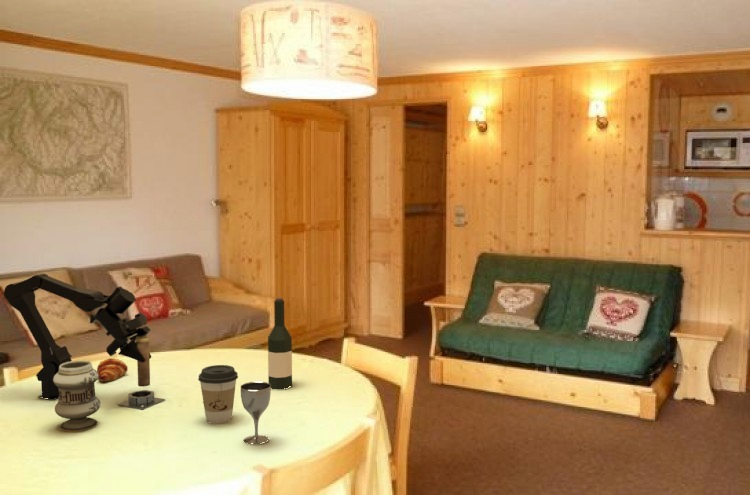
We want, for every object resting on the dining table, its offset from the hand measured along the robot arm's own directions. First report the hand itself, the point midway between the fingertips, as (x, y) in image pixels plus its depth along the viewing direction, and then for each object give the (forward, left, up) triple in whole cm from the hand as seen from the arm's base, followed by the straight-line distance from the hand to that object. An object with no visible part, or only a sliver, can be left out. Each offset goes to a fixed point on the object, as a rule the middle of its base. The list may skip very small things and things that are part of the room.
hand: (147, 359), depth 223 cm
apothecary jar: (-25, +3, -14) cm, 29 cm away
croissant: (+17, +32, -14) cm, 38 cm away
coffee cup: (-4, -30, -14) cm, 33 cm away
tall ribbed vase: (0, +1, -8) cm, 8 cm away
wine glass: (-13, -49, -14) cm, 52 cm away
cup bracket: (-2, +1, -13) cm, 14 cm away
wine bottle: (+31, -29, -14) cm, 45 cm away
